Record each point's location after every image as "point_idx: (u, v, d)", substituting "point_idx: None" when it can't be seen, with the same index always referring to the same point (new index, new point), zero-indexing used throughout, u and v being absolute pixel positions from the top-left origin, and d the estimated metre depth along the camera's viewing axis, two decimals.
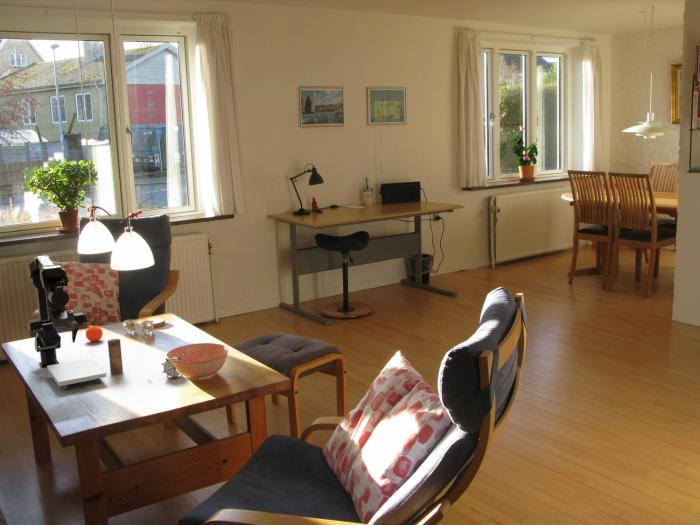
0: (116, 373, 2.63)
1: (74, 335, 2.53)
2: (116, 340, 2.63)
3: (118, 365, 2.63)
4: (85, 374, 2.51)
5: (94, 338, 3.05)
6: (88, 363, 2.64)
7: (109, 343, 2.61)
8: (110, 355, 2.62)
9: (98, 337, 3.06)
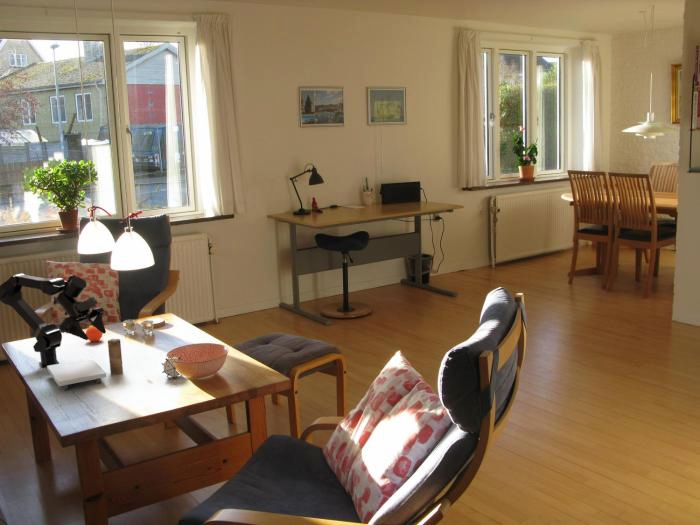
0: (116, 373, 2.63)
1: (102, 325, 2.70)
2: (116, 340, 2.63)
3: (118, 365, 2.63)
4: (85, 374, 2.51)
5: (94, 338, 3.05)
6: (88, 363, 2.64)
7: (109, 343, 2.61)
8: (110, 355, 2.62)
9: (98, 337, 3.06)
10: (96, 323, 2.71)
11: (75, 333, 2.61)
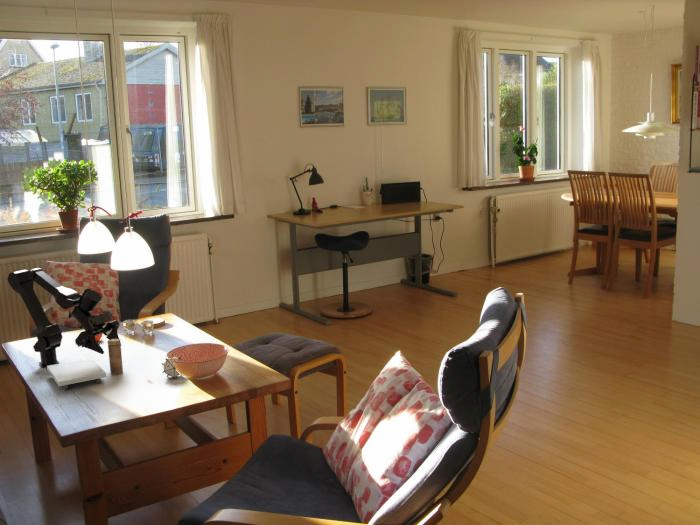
0: (116, 373, 2.63)
1: (117, 338, 2.68)
2: (116, 340, 2.63)
3: (118, 365, 2.63)
4: (85, 374, 2.51)
5: None
6: (88, 363, 2.64)
7: (109, 343, 2.61)
8: (110, 355, 2.62)
9: (98, 337, 3.06)
10: (111, 336, 2.69)
11: (91, 347, 2.59)
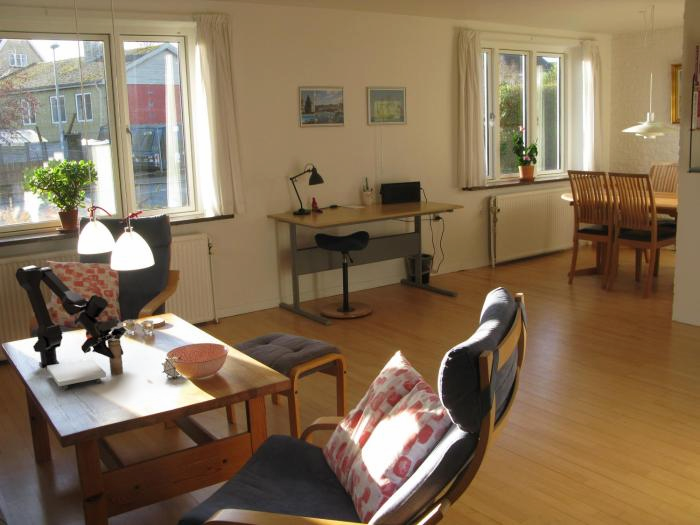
0: (116, 373, 2.63)
1: None
2: (116, 340, 2.63)
3: (118, 365, 2.63)
4: (85, 374, 2.51)
5: None
6: (88, 363, 2.64)
7: (109, 343, 2.61)
8: None
9: None
10: None
11: (101, 352, 2.61)
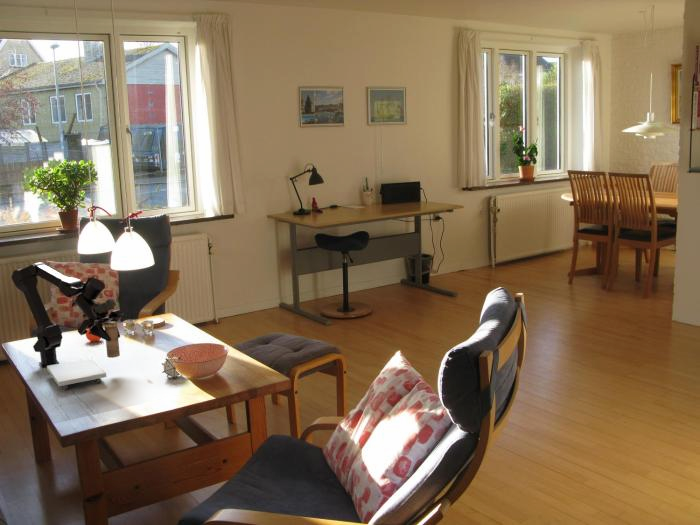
0: (112, 356, 2.61)
1: None
2: (113, 323, 2.61)
3: (114, 348, 2.61)
4: (85, 374, 2.51)
5: (94, 338, 3.05)
6: (88, 363, 2.64)
7: (105, 325, 2.59)
8: None
9: (98, 337, 3.06)
10: None
11: (98, 334, 2.59)
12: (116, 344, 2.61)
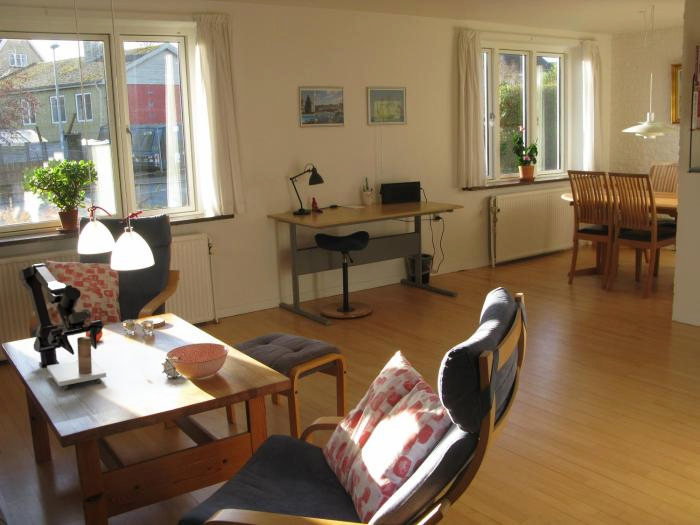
0: (82, 372, 2.51)
1: (94, 340, 2.55)
2: (86, 338, 2.51)
3: (84, 365, 2.51)
4: (85, 374, 2.51)
5: None
6: None
7: (77, 340, 2.50)
8: (78, 353, 2.51)
9: (98, 337, 3.06)
10: (91, 337, 2.57)
11: (63, 346, 2.50)
12: (86, 361, 2.51)
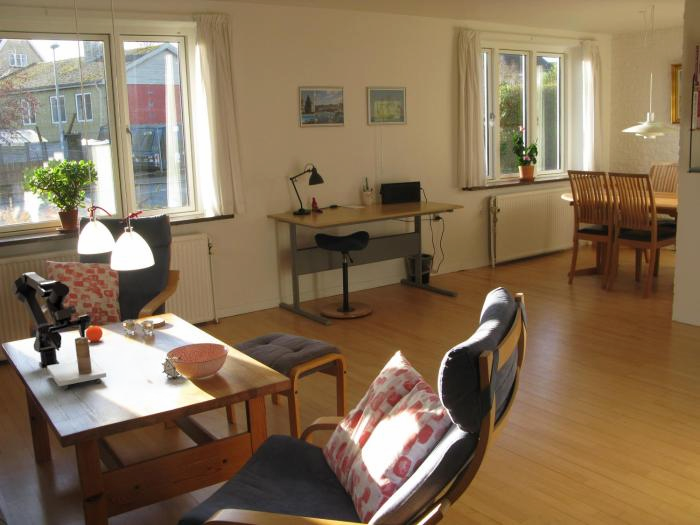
0: (82, 373, 2.51)
1: (83, 334, 2.61)
2: (83, 339, 2.51)
3: (83, 365, 2.51)
4: (85, 374, 2.51)
5: (94, 338, 3.05)
6: None
7: (75, 341, 2.50)
8: (76, 353, 2.51)
9: (98, 337, 3.06)
10: (80, 331, 2.63)
11: (50, 342, 2.57)
12: (85, 361, 2.51)
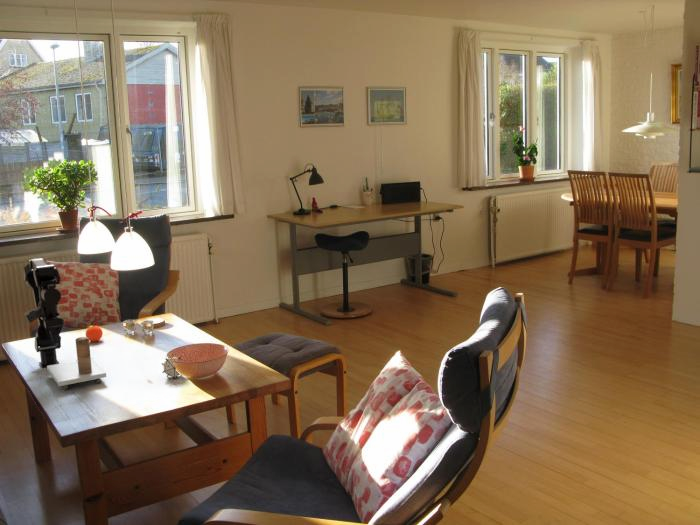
0: (81, 373, 2.52)
1: (51, 336, 2.58)
2: (84, 339, 2.51)
3: (83, 365, 2.51)
4: (85, 374, 2.51)
5: (94, 338, 3.05)
6: None
7: None
8: (77, 353, 2.51)
9: (98, 337, 3.06)
10: None
11: None
12: (85, 361, 2.51)
